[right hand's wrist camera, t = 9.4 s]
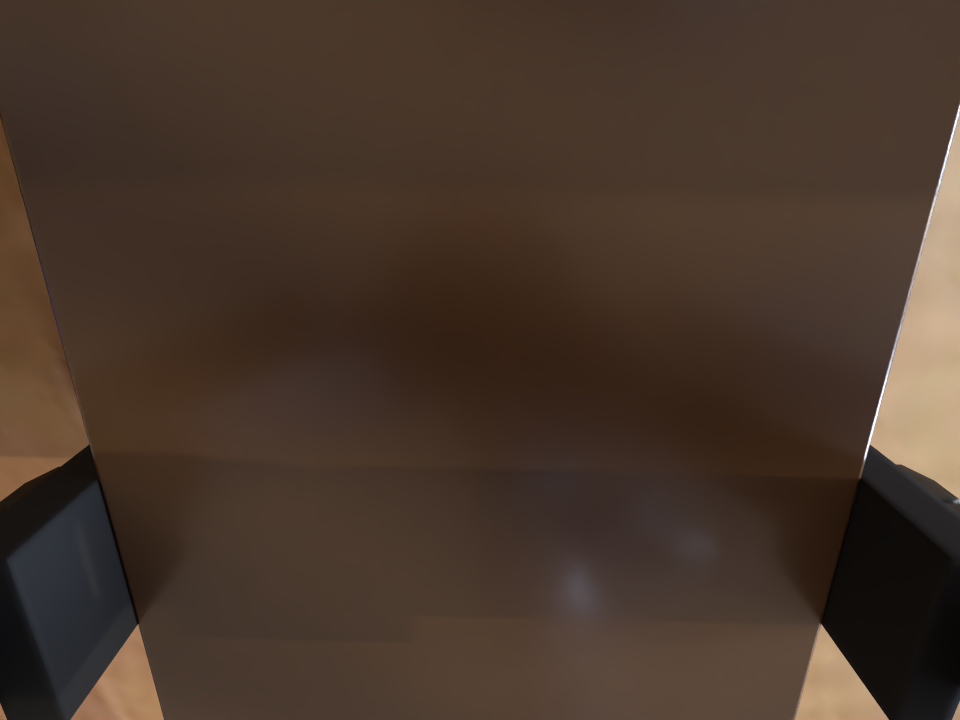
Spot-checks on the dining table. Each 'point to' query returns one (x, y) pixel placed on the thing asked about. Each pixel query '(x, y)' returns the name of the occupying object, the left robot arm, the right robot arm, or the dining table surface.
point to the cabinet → (479, 333)
